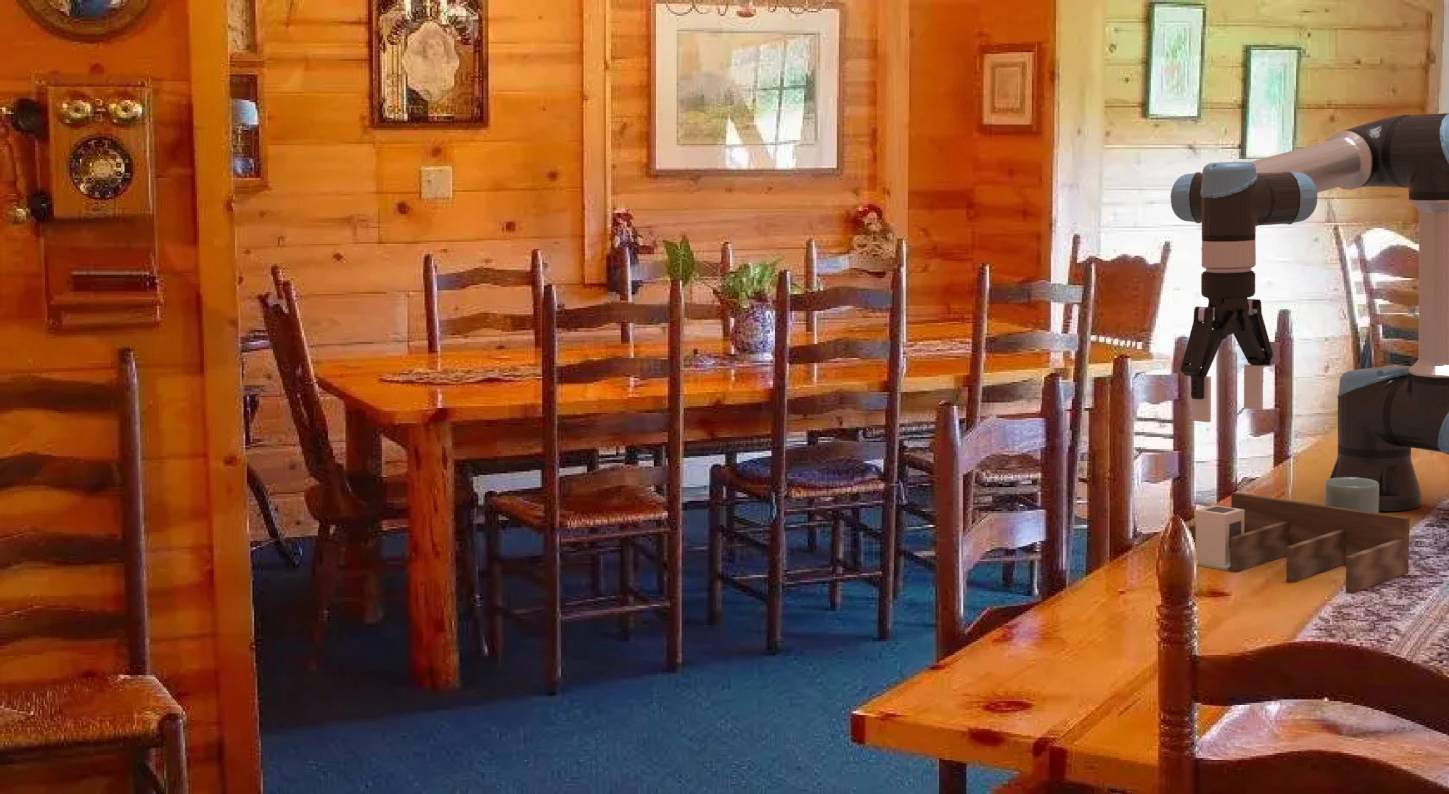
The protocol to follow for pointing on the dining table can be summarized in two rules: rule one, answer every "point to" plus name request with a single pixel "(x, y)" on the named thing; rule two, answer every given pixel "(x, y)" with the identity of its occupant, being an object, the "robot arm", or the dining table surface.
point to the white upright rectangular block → (1217, 532)
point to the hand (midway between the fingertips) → (1227, 415)
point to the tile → (1214, 565)
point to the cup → (1352, 493)
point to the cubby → (1319, 540)
